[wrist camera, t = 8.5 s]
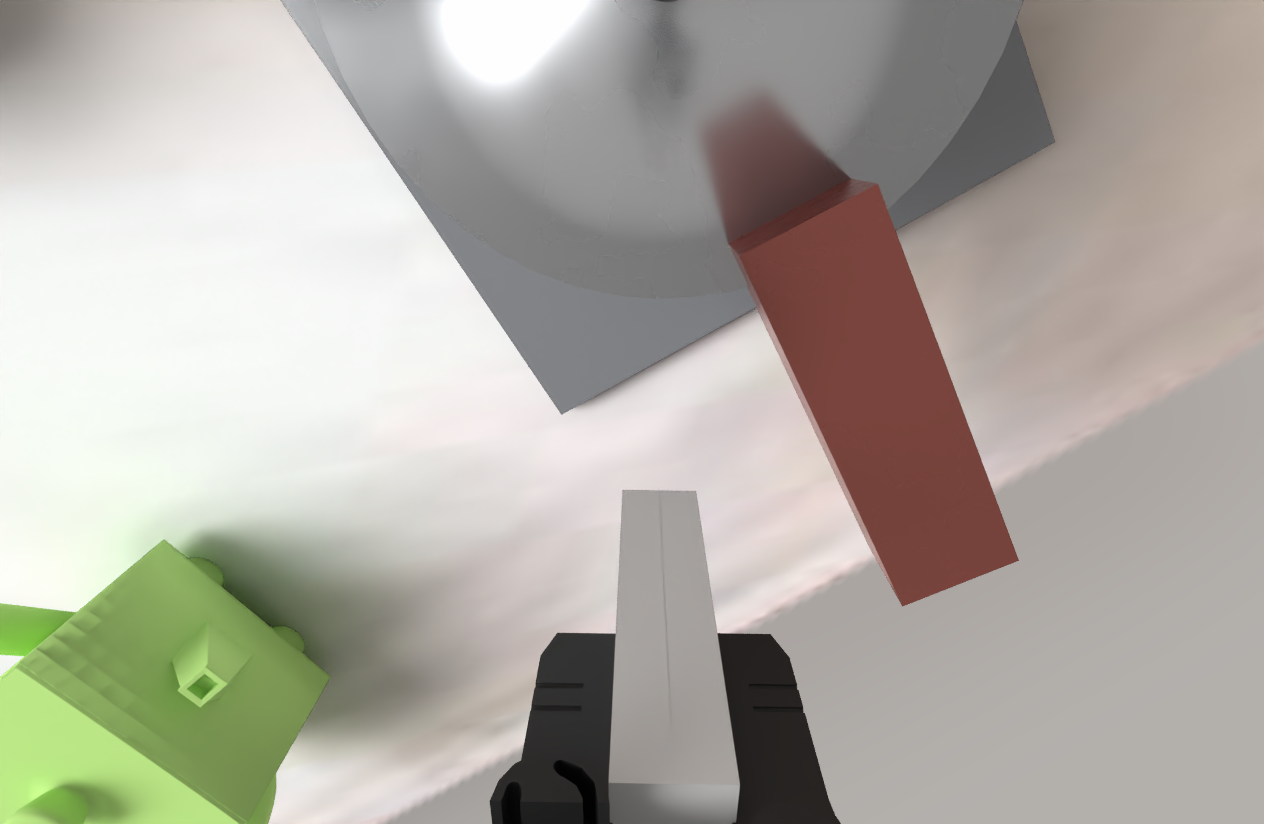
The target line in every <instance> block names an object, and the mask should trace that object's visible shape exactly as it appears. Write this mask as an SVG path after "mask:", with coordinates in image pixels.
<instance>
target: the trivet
mask: <svg viewBox="0 0 1264 824" xmlns="http://www.w3.org/2000/svg"><path fill="white" fill-rule="evenodd" d="M281 2H282V3H283V5H284V6H285V8H286V9H287V11H288V12H289V14H290V15H291V17H292V18H293V20H294V21H295V22H296V24H297V25H298V27H299V28H300V30H301V31H302V33H303V34H304V36H305V37H306V39H307V40H308V42H309V43H310V45H311V46H312V48H313V49H314V50H315V52H316V53H317V55H318V56H319V58H320V59H321V61H322V62H323V64H324V65H325V67H326V68H327V70H328V71H329V73H330V74H331V76H332V77H333V78H334V80H335V81H336V83H337V84H338V86H339V87H340V89H341V90H342V92H343V93H344V95H345V96H346V98H347V99H348V101H349V102H350V104H351V105H352V106H353V108H354V109H355V111H356V112H357V114H358V115H359V117H360V118H361V120H362V121H363V123H364V124H365V126H366V127H367V129H368V130H369V132H370V133H371V134H372V136H373V137H374V139H375V140H376V142H377V143H378V145H379V146H380V148H381V149H382V151H383V152H384V154H385V155H386V157H387V158H388V160H389V161H390V163H391V164H392V165H393V167H394V168H395V170H396V171H397V173H398V174H399V176H400V177H401V179H402V180H403V182H404V183H405V185H406V186H407V188H408V189H409V191H410V192H411V193H412V195H413V196H414V198H415V199H416V201H417V202H418V204H419V205H420V207H421V208H422V210H423V211H424V213H425V214H426V216H427V217H428V219H429V220H430V221H431V223H432V224H433V226H434V227H435V229H436V230H437V232H438V233H439V235H440V236H441V238H442V239H443V241H444V242H445V244H446V245H447V247H448V248H449V249H450V251H451V252H452V254H453V255H454V257H455V258H456V260H457V261H458V263H459V264H460V266H461V267H462V269H463V270H464V272H465V273H466V275H467V276H468V277H469V279H470V280H471V282H472V283H473V285H474V286H475V288H476V289H477V291H478V292H479V294H480V295H481V297H482V298H483V300H484V301H485V303H486V304H487V306H488V307H489V308H490V310H491V311H492V313H493V314H494V316H495V317H496V319H497V320H498V322H499V323H500V325H501V326H502V328H503V329H504V331H505V332H506V334H507V335H508V336H509V338H510V339H511V341H512V342H513V344H514V345H515V347H516V348H517V350H518V351H519V353H520V354H521V356H522V357H523V359H524V360H525V362H526V363H527V364H528V366H529V367H530V369H531V370H532V372H533V373H534V375H535V376H536V378H537V379H538V381H539V382H540V384H541V385H542V387H543V388H544V390H545V391H546V392H547V394H548V395H549V397H550V398H551V400H552V401H553V403H554V404H555V406H556V407H557V409H558V410H559V412H560V413H561V415H562V414H564V413H565V412H567V411H569V410H571V409H573V408H574V407H576V406H578V405H580V404H582V403H583V402H585V401H587V400H589V399H591V398H592V397H594V396H596V395H598V394H600V393H602V392H603V391H605V390H607V389H609V388H611V387H612V386H614V385H616V384H618V383H620V382H621V381H623V380H625V379H627V378H629V377H630V376H632V375H634V374H636V373H638V372H640V371H641V370H643V369H645V368H647V367H649V366H650V365H652V364H654V363H656V362H658V361H659V360H661V359H663V358H665V357H667V356H668V355H670V354H672V353H674V352H676V351H678V350H679V349H681V348H683V347H685V346H687V345H688V344H690V343H692V342H694V341H696V340H697V339H699V338H701V337H703V336H705V335H706V334H708V333H710V332H712V331H714V330H716V329H717V328H719V327H721V326H723V325H725V324H726V323H728V322H730V321H732V320H734V319H735V318H737V317H739V316H741V315H743V314H745V313H746V312H748V311H750V310H752V309H754V308H755V307H756V305H755V303H754V301H753V299H752V297H751V295H750V293H749V290H748V288H747V287H744V288H741V289H737V290H734V291H730V292H723V293H717V294H711V295H705V296H698V297H692V298H659V299H649V298H639V297H629V296H619V295H611V294H606V293H602V292H598V291H594V290H589V289H585V288H581V287H576V286H572V285H570V284H567V283H564V282H562V281H559V280H556V279H553V278H551V277H548V276H545V275H543V274H540V273H537V272H535V271H533V270H531V269H529V268H527V267H525V266H523V265H521V264H519V263H517V262H515V261H513V260H512V259H510V258H508V257H506V256H504V255H502V254H500V253H498V252H496V251H495V250H493V249H492V248H491V247H489V246H488V245H486V244H485V243H483V242H482V241H480V240H479V239H478V238H476V237H475V236H473V235H472V234H470V233H469V232H467V231H466V230H465V229H463V228H462V227H460V226H459V225H458V224H457V223H456V222H455V221H454V220H452V219H451V218H450V217H449V216H448V215H447V214H446V213H445V212H443V211H442V210H441V209H440V208H439V207H438V206H437V205H436V204H434V203H433V202H432V201H431V200H430V199H429V198H428V197H427V196H426V195H425V194H424V193H423V192H422V191H421V190H420V188H419V187H418V186H417V185H416V184H415V183H414V182H413V181H412V179H411V178H410V177H409V176H408V175H407V174H406V173H405V172H404V170H403V169H402V168H401V167H400V166H399V165H398V164H397V163H396V161H395V160H394V159H393V157H392V156H391V154H390V153H389V151H388V150H387V149H386V147H385V146H384V144H383V143H382V142H381V140H380V139H379V137H378V136H377V135H376V133H375V132H374V130H373V129H372V127H371V126H370V125H369V123H368V122H367V120H366V118H365V116H364V114H363V113H362V111H361V109H360V107H359V105H358V104H357V102H356V100H355V98H354V96H353V95H352V93H351V91H350V89H349V87H348V85H347V84H346V82H345V80H344V78H343V76H342V74H341V71H340V69H339V67H338V64H337V62H336V59H335V57H334V55H333V52H332V50H331V47H330V45H329V43H328V40H327V38H326V36H325V33H324V31H323V28H322V25H321V22H320V18H319V15H318V12H317V8H316V5H315V2H314V0H281ZM1054 142H1055V140H1054V137H1053V134H1052V131H1051V128H1050V124H1049V121H1048V118H1047V115H1046V112H1045V109H1044V106H1043V103H1042V100H1041V97H1040V93H1039V90H1038V87H1037V84H1036V81H1035V78H1034V75H1033V72H1032V69H1031V66H1030V63H1029V59H1028V56H1027V53H1026V50H1025V47H1024V44H1023V41H1022V38H1021V35H1020V32H1019V28H1018V25H1017V22H1016V20H1015V23H1014V26H1013V28H1012V31H1011V33H1010V36H1009V38H1008V41H1007V43H1006V46H1005V48H1004V51H1003V53H1002V55H1001V57H1000V59H999V61H998V63H997V65H996V67H995V69H994V70H993V72H992V74H991V76H990V78H989V80H988V82H987V84H986V86H985V88H984V90H983V92H982V93H981V95H980V97H979V99H978V101H977V102H976V104H975V105H974V107H973V108H972V110H971V111H970V113H969V114H968V116H967V117H966V119H965V120H964V122H963V123H962V125H961V126H960V128H959V129H958V131H957V132H956V134H955V135H954V137H953V138H952V140H951V141H950V143H949V144H948V145H947V147H946V148H945V149H944V150H943V151H942V153H941V154H940V155H939V156H938V157H937V159H936V160H935V161H934V162H933V163H932V165H931V166H930V167H929V168H928V169H927V170H926V172H925V173H924V174H923V175H922V176H921V178H920V179H919V180H918V181H917V182H916V183H915V184H914V185H913V186H912V187H911V188H910V189H909V190H908V191H907V192H906V193H905V194H904V195H902V196H901V197H900V198H899V199H898V200H897V201H896V202H895V203H894V204H893V205H892V206H891V207H890V208H889V209H888V212H889V215H890V218H891V220H892V223H893V226H894V228H895V230H897V229H898V228H900V227H902V226H904V225H906V224H907V223H909V222H911V221H913V220H915V219H916V218H918V217H920V216H922V215H924V214H926V213H927V212H929V211H931V210H933V209H935V208H936V207H938V206H940V205H942V204H944V203H945V202H947V201H949V200H951V199H953V198H954V197H956V196H958V195H960V194H962V193H964V192H965V191H967V190H969V189H971V188H973V187H974V186H976V185H978V184H980V183H982V182H983V181H985V180H987V179H989V178H991V177H992V176H994V175H996V174H998V173H1000V172H1002V171H1003V170H1005V169H1007V168H1009V167H1011V166H1012V165H1014V164H1016V163H1018V162H1020V161H1021V160H1023V159H1025V158H1027V157H1029V156H1030V155H1032V154H1034V153H1036V152H1038V151H1040V150H1041V149H1043V148H1045V147H1047V146H1049V145H1050V144H1052V143H1054Z"/></svg>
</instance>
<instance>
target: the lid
mask: <svg viewBox="0 0 1264 824" xmlns="http://www.w3.org/2000/svg"><path fill="white" fill-rule="evenodd" d="M314 2H315V5H316V8H317V12H318V15H319V18H320V22H321V25H322V28H323V31H324V33H325V36H326V38H327V40H328V43H329V45H330V47H331V50H332V52H333V55H334V57H335V59H336V62H337V64H338V67H339V69H340V71H341V74H342V76H343V78H344V80H345V82H346V84H347V85H348V87H349V89H350V91H351V93H352V95H353V96H354V98H355V100H356V102H357V104H358V105H359V107H360V109H361V111H362V113H363V114H364V116H365V118H366V120H367V122H368V123H369V125H370V126H371V127H372V129H373V130H374V132H375V133H376V135H377V136H378V137H379V139H380V140H381V142H382V143H383V144H384V146H385V147H386V149H387V150H388V151H389V153H390V154H391V156H392V157H393V159H394V160H395V161H396V163H397V164H398V165H399V166H400V167H401V168H402V169H403V170H404V172H405V173H406V174H407V175H408V176H409V177H410V178H411V179H412V181H413V182H414V183H415V184H416V185H417V186H418V187H419V188H420V190H421V191H422V192H423V193H424V194H425V195H426V196H427V197H428V198H429V199H430V200H431V201H432V202H433V203H434V204H436V205H437V206H438V207H439V208H440V209H441V210H442V211H443V212H445V213H446V214H447V215H448V216H449V217H450V218H451V219H452V220H454V221H455V222H456V223H457V224H458V225H459V226H460V227H462V228H463V229H465V230H466V231H467V232H469V233H470V234H472V235H473V236H475V237H476V238H478V239H479V240H480V241H482V242H483V243H485V244H486V245H488V246H489V247H491V248H492V249H493V250H495V251H496V252H498V253H500V254H502V255H504V256H506V257H508V258H510V259H512V260H513V261H515V262H517V263H519V264H521V265H523V266H525V267H527V268H529V269H531V270H533V271H535V272H537V273H540V274H543V275H545V276H548V277H551V278H553V279H556V280H559V281H562V282H564V283H567V284H570V285H572V286H576V287H581V288H585V289H589V290H594V291H598V292H602V293H606V294H611V295H619V296H629V297H639V298H649V299H659V298H692V297H698V296H705V295H711V294H717V293H723V292H730V291H734V290H737V289H741V288H744V287H747V288H748V290H749V293H750V295H751V297H752V299H753V301H754V303H755V305H756V307H757V310H758V312H759V314H760V316H761V318H762V320H763V322H764V324H765V327H766V329H767V331H768V333H769V335H770V337H771V339H772V341H773V344H774V346H775V348H776V350H777V352H778V354H779V356H780V358H781V361H782V363H783V365H784V367H785V369H786V371H787V373H788V375H789V378H790V380H791V382H792V384H793V386H794V388H795V390H796V393H797V395H798V397H799V399H800V401H801V403H802V405H803V407H804V410H805V412H806V414H807V416H808V418H809V420H810V422H811V424H812V427H813V429H814V431H815V433H816V435H817V437H818V439H819V441H820V444H821V446H822V448H823V450H824V452H825V454H826V456H827V458H828V461H829V463H830V465H831V467H832V469H833V471H834V473H835V475H836V478H837V480H838V482H839V484H840V486H841V488H842V490H843V492H844V495H845V497H846V499H847V501H848V503H849V505H850V507H851V509H852V512H853V514H854V516H855V518H856V520H857V522H858V524H859V526H860V529H861V531H862V533H863V535H864V537H865V539H866V541H867V543H868V546H869V548H870V550H871V551H872V553H873V555H874V557H875V558H876V560H877V562H878V564H879V566H880V567H881V569H882V571H883V573H884V574H885V576H886V578H887V580H888V581H889V583H890V585H891V587H892V589H893V590H894V592H895V594H896V596H897V597H898V599H899V601H900V603H901V605H902V606H905V605H907V604H910V603H912V602H915V601H917V600H920V599H923V598H925V597H928V596H930V595H932V594H935V593H938V592H940V591H943V590H945V589H948V588H950V587H953V586H955V585H958V584H960V583H963V582H966V581H968V580H970V579H973V578H976V577H978V576H980V575H983V574H986V573H988V572H991V571H993V570H996V569H998V568H1001V567H1004V566H1006V565H1009V564H1011V563H1014V562H1016V561H1019V560H1018V557H1017V555H1016V552H1015V549H1014V546H1013V544H1012V541H1011V538H1010V536H1009V533H1008V530H1007V528H1006V525H1005V523H1004V520H1003V517H1002V514H1001V512H1000V509H999V506H998V504H997V501H996V498H995V496H994V493H993V490H992V488H991V485H990V482H989V480H988V477H987V474H986V471H985V469H984V466H983V463H982V461H981V458H980V455H979V453H978V450H977V447H976V445H975V442H974V439H973V437H972V434H971V431H970V429H969V426H968V423H967V421H966V418H965V415H964V413H963V410H962V407H961V405H960V402H959V399H958V397H957V394H956V391H955V389H954V386H953V383H952V381H951V378H950V375H949V373H948V370H947V367H946V365H945V362H944V359H943V357H942V354H941V351H940V349H939V346H938V343H937V341H936V338H935V335H934V332H933V330H932V327H931V324H930V322H929V319H928V316H927V314H926V311H925V308H924V306H923V303H922V300H921V298H920V295H919V292H918V290H917V287H916V284H915V282H914V279H913V276H912V274H911V271H910V268H909V266H908V263H907V260H906V258H905V255H904V252H903V250H902V247H901V244H900V242H899V239H898V236H897V234H896V231H895V228H894V226H893V223H892V220H891V218H890V215H889V212H888V209H889V208H890V207H891V206H892V205H893V204H894V203H895V202H896V201H897V200H898V199H899V198H900V197H901V196H902V195H904V194H905V193H906V192H907V191H908V190H909V189H910V188H911V187H912V186H913V185H914V184H915V183H916V182H917V181H918V180H919V179H920V178H921V176H922V175H923V174H924V173H925V172H926V170H927V169H928V168H929V167H930V166H931V165H932V163H933V162H934V161H935V160H936V159H937V157H938V156H939V155H940V154H941V153H942V151H943V150H944V149H945V148H946V147H947V145H948V144H949V143H950V141H951V140H952V138H953V137H954V135H955V134H956V132H957V131H958V129H959V128H960V126H961V125H962V123H963V122H964V120H965V119H966V117H967V116H968V114H969V113H970V111H971V110H972V108H973V107H974V105H975V104H976V102H977V101H978V99H979V97H980V95H981V93H982V92H983V90H984V88H985V86H986V84H987V82H988V80H989V78H990V76H991V74H992V72H993V70H994V69H995V67H996V65H997V63H998V61H999V59H1000V57H1001V55H1002V53H1003V51H1004V48H1005V46H1006V43H1007V41H1008V38H1009V36H1010V33H1011V31H1012V28H1013V26H1014V23H1015V20H1016V18H1017V15H1018V13H1019V10H1020V8H1021V5H1022V3H1023V0H314Z"/></svg>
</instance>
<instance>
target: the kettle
mask: <svg viewBox="0 0 1264 824" xmlns="http://www.w3.org/2000/svg"><path fill="white" fill-rule="evenodd" d="M223 583H224V577H223V574H222V572H221V570H220V569H219V567H218V566H217V565H215V564H214V563H213V562H211V561H209V560H207V559H204V558H199V557H194V558H189V559H188V558H186V557H185V556H184V555H183V554H181V553H180V552H179V551H178V550H177V549H175V548H174V547H173V546H172V545H170V544H169V543H168V542H167V541H165V540H163V541H161V542H160V543H159V544H158V545H157V546H155V547H154V548H153V549H152V550H151V551H149V552H148V553H147V554H146V555H145V556H143V557H142V558H141V559H140V560H139V561H137V562H136V563H135V564H134V565H133V566H131V567H130V568H129V569H128V570H127V571H125V572H124V573H123V574H122V575H121V576H120V577H118V578H117V579H116V580H115V581H114V582H112V583H111V584H110V585H109V586H108V587H106V588H105V589H104V590H103V591H102V592H100V593H99V594H98V595H97V596H96V597H94V598H93V599H92V600H91V601H90V602H88V603H87V604H86V605H85V606H84V607H82V608H81V609H80V610H79V611H78V612H67V611H59V610H51V609H42V608H34V607H26V606H18V605H9V604H1V603H0V655H14V656H24V657H23V658H22V659H21V660H20V661H18V662H17V663H16V664H15V665H14V666H12V667H11V668H10V669H9V670H8V671H7V672H5V673H4V674H3V675H2V676H1V677H0V824H268V822H269V819H270V816H271V812H272V809H273V805H274V800H275V794H276V772H277V770H278V768H279V767H280V765H281V763H282V761H283V760H284V758H285V756H286V754H287V753H288V751H289V749H290V747H291V746H292V744H293V742H294V740H295V739H296V737H297V735H298V733H299V732H300V730H301V728H302V726H303V725H304V723H305V721H306V719H307V718H308V716H309V714H310V712H311V711H312V709H313V707H314V705H315V703H316V702H317V700H318V698H319V696H320V695H321V693H322V691H323V689H324V688H325V686H326V684H327V682H328V681H329V679H330V677H331V676H330V675H329V674H327V673H326V672H325V671H324V670H323V669H321V668H320V667H319V666H318V665H317V664H315V663H314V662H313V661H312V660H310V659H309V658H308V657H307V656H306V655H304V654H303V652H304V649H305V643H304V640H303V638H302V637H301V636H300V635H299V634H298V633H297V632H296V631H294V630H292V629H290V628H287V627H283V626H277V627H270V626H269V625H268V624H267V623H266V622H264V621H263V620H262V619H261V618H259V617H258V616H257V615H256V614H255V613H253V612H252V611H251V610H250V609H249V608H247V607H246V606H245V605H244V604H242V603H241V602H240V601H239V600H238V599H236V598H235V597H234V596H233V595H231V594H230V593H229V592H228V591H227V590H225V589H224V588H223V587H222V586H223Z"/></svg>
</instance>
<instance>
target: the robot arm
mask: <svg viewBox="0 0 1264 824" xmlns="http://www.w3.org/2000/svg"><path fill="white" fill-rule="evenodd" d="M490 807H491V816H492V824H841V823H840V822H839V820H838V819H837V817H836V816H835V814H834V811H833V809H832V807H831V804H830V802H829V799H828V795H827V792H826V788H825V785H824V781H823V777H822V774H821V771H820V766H819V763H818V759H817V756H816V752H815V748H814V745H813V741H812V737H811V734H810V730H809V727H808V723H807V719H806V716H805V713H803V705H802V701H801V698H800V694H799V691H798V690H797V683H796V680H795V676H794V672H793V669H792V665H791V662H790V658H789V657H788V655H787V654H786V653H785V652H784V650H783V649H782V648H781V647H780V645H779V644H778V643H777V642H776V641H775V639H774V638H773V637H772V636H771V634H723V633H717V628H716V621H715V615H714V608H713V601H712V595H711V588H710V581H709V574H708V568H707V561H706V554H705V548H704V541H703V534H702V528H701V521H700V514H699V508H698V501H697V494H696V491H655V490H623V493H622V513H621V534H620V555H619V576H618V597H617V617H616V634H596V633H557V634H556V636H555V637H554V638H553V640H552V641H551V642H550V644H549V645H548V646H547V648H546V649H545V651H544V652H543V653H542V655H541V657H540V662H539V668H538V673H537V678H536V687H535V689H534V694H533V700H532V708H531V711H530V716H529V721H528V727H527V732H526V738H525V743H524V748H523V754H522V759H521V761H519V762H517V763H516V764H514V765H513V766H512V767H511V768H510V769H509V770H508V771H507V772H506V774H505V775H503V777H502V778H501V779H500V780H499V781H498V783H497V786H496V788H495V790H494V793H493V795H492V797H491V800H490Z"/></svg>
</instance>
